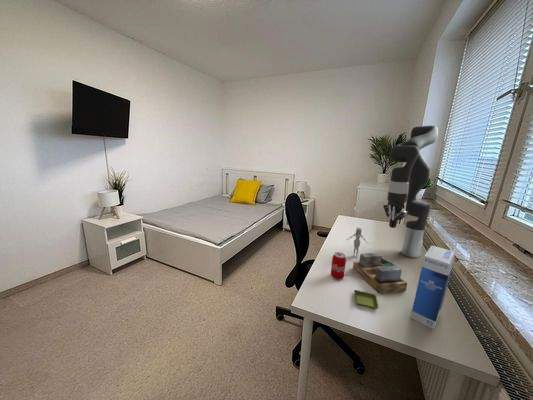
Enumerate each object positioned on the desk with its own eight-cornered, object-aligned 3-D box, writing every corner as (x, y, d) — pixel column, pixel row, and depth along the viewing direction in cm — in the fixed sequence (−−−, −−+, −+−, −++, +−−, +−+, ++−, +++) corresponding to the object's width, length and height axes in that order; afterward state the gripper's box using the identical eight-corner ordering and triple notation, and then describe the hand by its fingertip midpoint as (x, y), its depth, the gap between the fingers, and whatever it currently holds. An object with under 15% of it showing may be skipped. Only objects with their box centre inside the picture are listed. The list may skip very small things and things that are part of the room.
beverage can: (337, 282, 100) (339, 259, 97) (327, 275, 105) (330, 253, 103) (346, 278, 103) (349, 256, 100) (337, 272, 108) (339, 250, 105)
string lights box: (418, 301, 88) (431, 244, 82) (441, 312, 83) (457, 251, 77) (409, 318, 79) (423, 255, 73) (435, 330, 74) (451, 264, 68)
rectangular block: (393, 281, 99) (396, 265, 98) (398, 285, 96) (401, 269, 94) (374, 282, 98) (376, 267, 96) (379, 287, 94) (381, 271, 93)
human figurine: (344, 255, 126) (347, 227, 122) (344, 253, 129) (348, 225, 125) (366, 260, 121) (370, 231, 117) (366, 257, 124) (370, 228, 120)
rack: (376, 267, 114) (378, 250, 112) (405, 290, 95) (409, 271, 93) (352, 268, 112) (354, 252, 110) (377, 293, 93) (380, 274, 91)
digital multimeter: (372, 256, 127) (373, 252, 126) (395, 269, 113) (396, 264, 113) (363, 258, 124) (363, 254, 123) (385, 272, 111) (386, 267, 110)
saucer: (353, 306, 85) (354, 302, 85) (353, 293, 93) (353, 289, 92) (377, 312, 82) (378, 308, 82) (375, 298, 90) (376, 294, 90)
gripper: (417, 194, 90) (410, 232, 94) (394, 188, 102) (388, 221, 107) (402, 194, 88) (396, 233, 93) (380, 188, 101) (375, 222, 105)
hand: (392, 227), depth 100 cm, fingers closed
